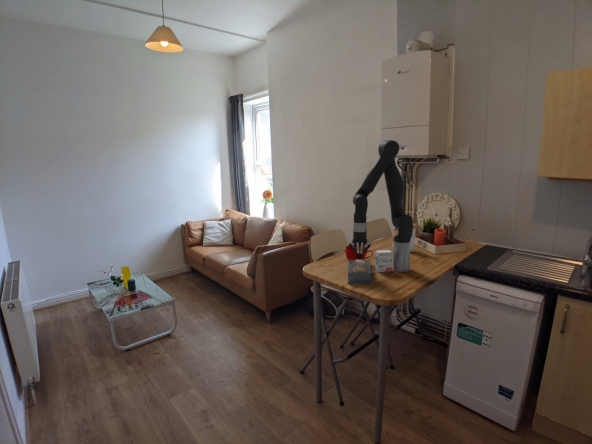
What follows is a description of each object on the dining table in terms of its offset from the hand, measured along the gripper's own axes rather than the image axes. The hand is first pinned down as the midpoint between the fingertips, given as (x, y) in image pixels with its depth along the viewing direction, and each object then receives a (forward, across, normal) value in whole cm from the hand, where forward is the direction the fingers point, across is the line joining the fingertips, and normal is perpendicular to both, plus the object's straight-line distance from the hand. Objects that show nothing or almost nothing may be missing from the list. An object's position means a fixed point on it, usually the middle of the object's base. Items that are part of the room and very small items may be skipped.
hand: (359, 259), depth 188 cm
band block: (+8, 0, +6) cm, 10 cm away
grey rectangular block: (+3, 0, +12) cm, 13 cm away
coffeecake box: (+9, -30, -50) cm, 59 cm away
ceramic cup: (+8, 0, -16) cm, 18 cm away
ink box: (+8, -14, -5) cm, 17 cm away
